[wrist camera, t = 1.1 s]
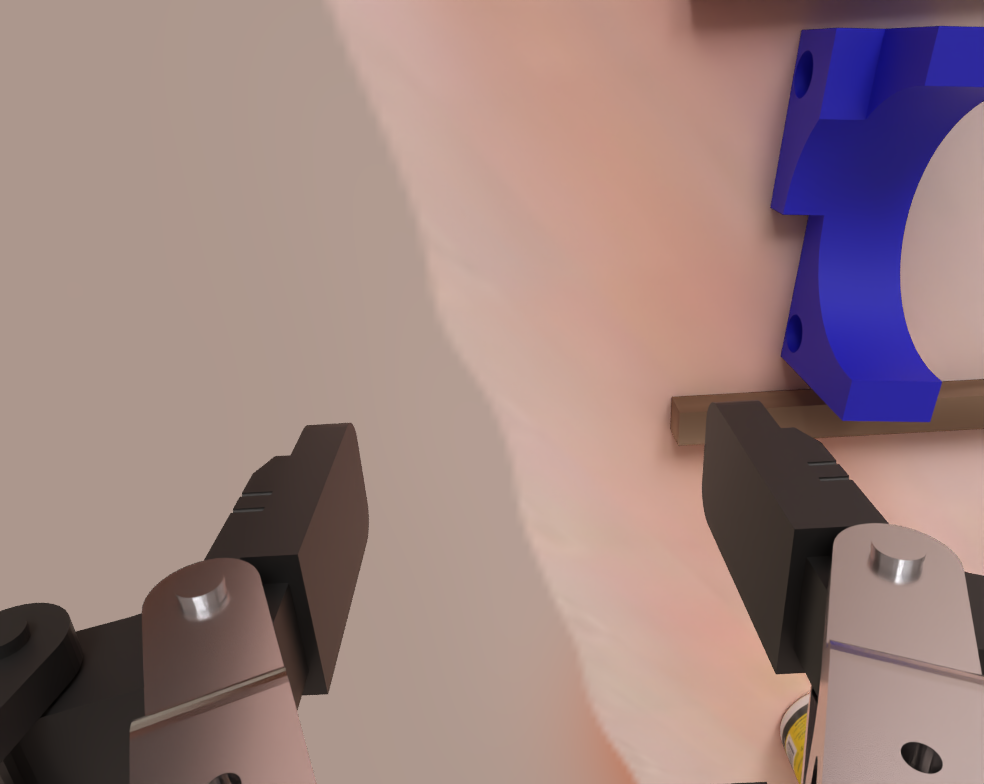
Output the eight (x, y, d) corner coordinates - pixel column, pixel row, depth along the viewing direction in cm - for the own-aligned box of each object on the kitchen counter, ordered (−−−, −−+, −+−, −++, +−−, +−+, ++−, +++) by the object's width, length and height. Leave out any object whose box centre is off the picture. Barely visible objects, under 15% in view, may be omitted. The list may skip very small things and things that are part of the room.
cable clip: (799, 30, 25) (884, 24, 20) (929, 32, 26) (1048, 28, 20) (742, 353, 30) (798, 420, 25) (851, 355, 31) (929, 422, 25)
